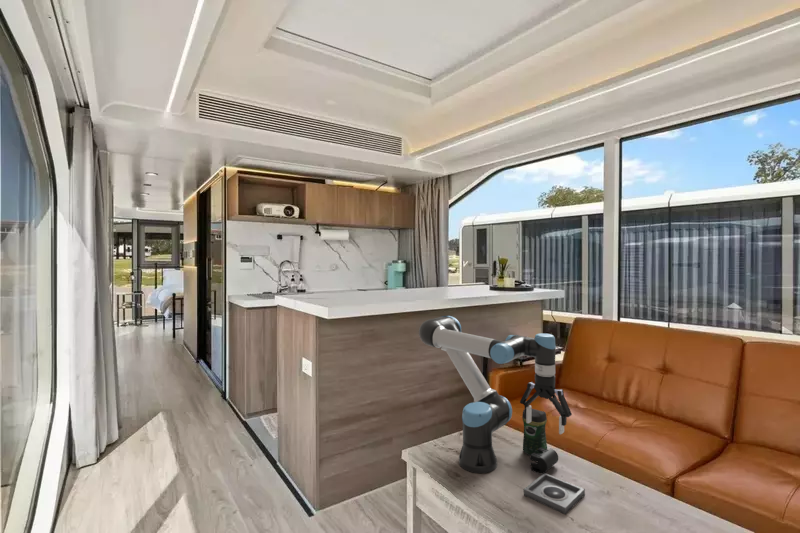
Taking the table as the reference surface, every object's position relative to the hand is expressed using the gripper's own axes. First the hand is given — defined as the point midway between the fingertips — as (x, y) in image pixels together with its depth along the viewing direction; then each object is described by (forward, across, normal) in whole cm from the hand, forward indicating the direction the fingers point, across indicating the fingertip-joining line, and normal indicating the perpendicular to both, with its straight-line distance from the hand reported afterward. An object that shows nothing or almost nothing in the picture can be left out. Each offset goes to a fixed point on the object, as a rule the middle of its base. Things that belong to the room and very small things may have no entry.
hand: (544, 427), depth 163 cm
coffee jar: (+17, -9, +9) cm, 21 cm away
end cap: (+17, 0, 0) cm, 17 cm away
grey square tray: (+16, +11, -14) cm, 24 cm away
